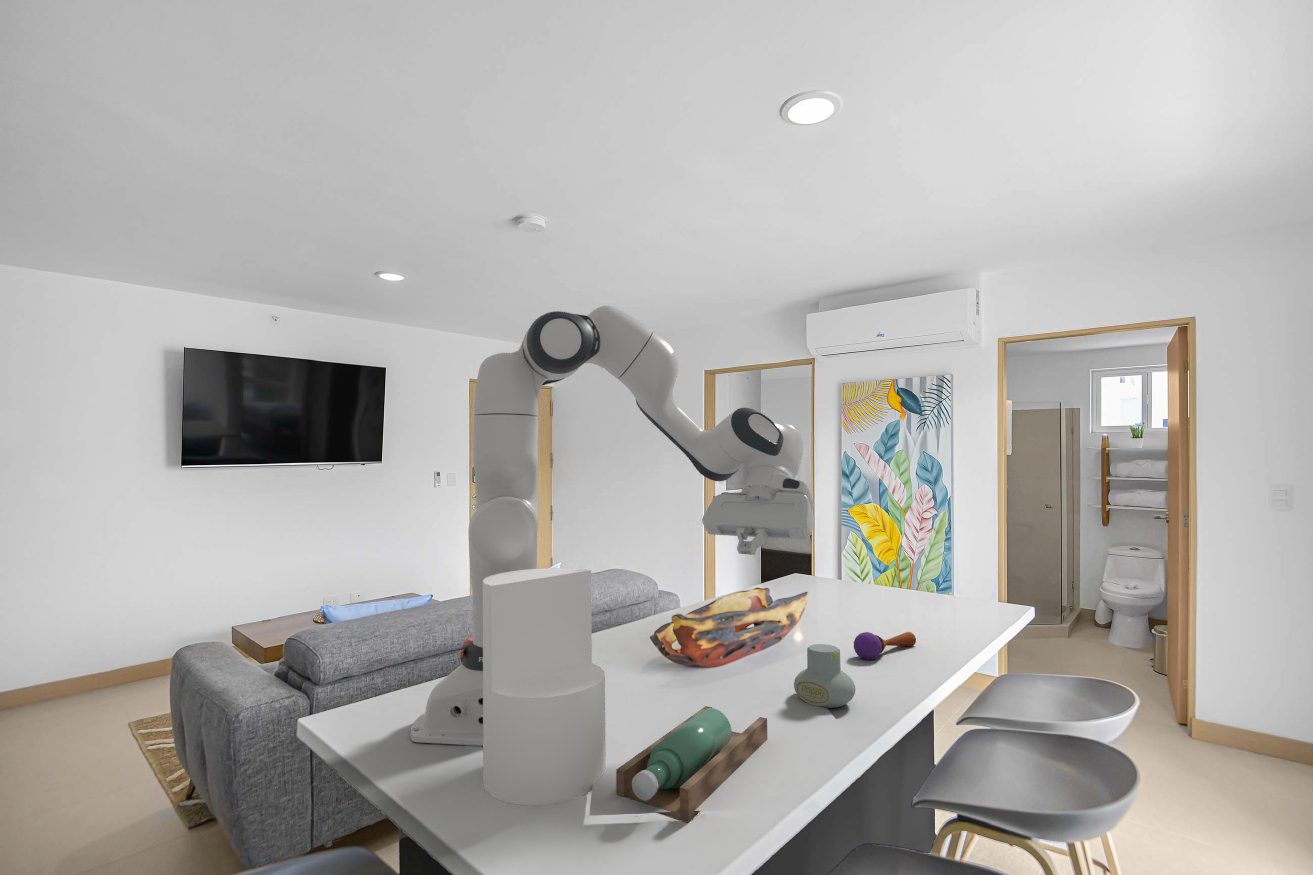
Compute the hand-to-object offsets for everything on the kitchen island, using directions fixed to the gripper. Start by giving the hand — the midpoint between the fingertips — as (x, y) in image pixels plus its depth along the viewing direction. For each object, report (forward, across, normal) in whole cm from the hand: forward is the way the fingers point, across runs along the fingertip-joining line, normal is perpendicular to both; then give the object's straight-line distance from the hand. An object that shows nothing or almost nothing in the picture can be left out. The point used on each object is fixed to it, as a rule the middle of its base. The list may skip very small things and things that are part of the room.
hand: (745, 552), depth 114 cm
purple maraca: (-17, +12, +57) cm, 61 cm away
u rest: (+35, +1, +6) cm, 35 cm away
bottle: (+28, +1, +7) cm, 29 cm away
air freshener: (+10, +9, +30) cm, 33 cm away
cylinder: (+44, -17, -2) cm, 47 cm away
